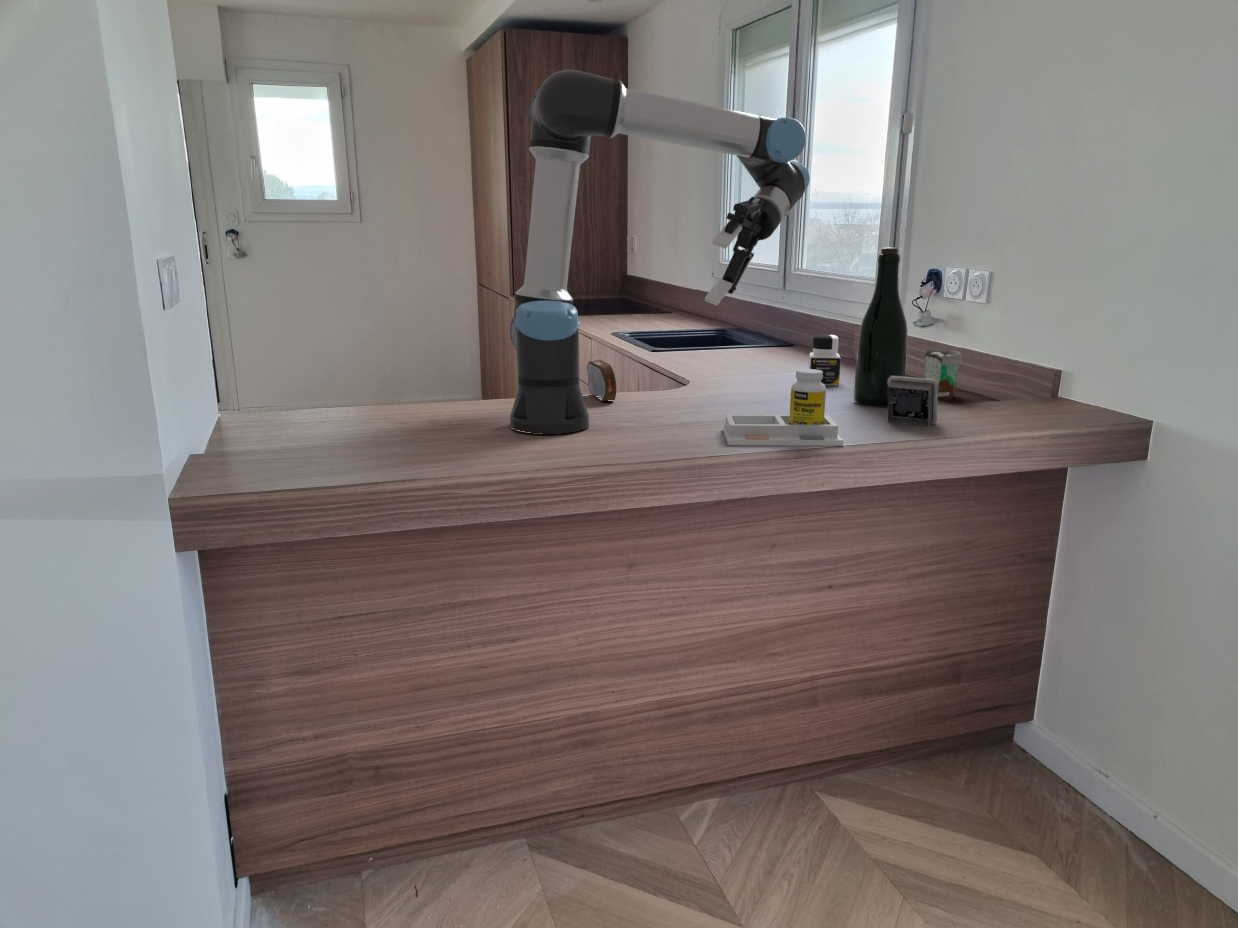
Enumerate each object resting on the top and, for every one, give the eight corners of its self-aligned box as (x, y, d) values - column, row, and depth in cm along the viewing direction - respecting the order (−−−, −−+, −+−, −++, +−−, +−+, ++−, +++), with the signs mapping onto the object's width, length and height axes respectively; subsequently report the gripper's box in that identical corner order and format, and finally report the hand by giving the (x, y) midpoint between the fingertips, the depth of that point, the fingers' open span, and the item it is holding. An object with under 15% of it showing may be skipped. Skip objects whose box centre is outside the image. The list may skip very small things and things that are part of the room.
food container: (967, 401, 189) (971, 355, 186) (939, 401, 189) (943, 356, 186) (947, 391, 200) (951, 348, 198) (921, 391, 201) (924, 348, 198)
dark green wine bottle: (878, 409, 180) (890, 248, 171) (843, 401, 189) (853, 247, 180) (913, 404, 185) (927, 247, 176) (877, 397, 193) (889, 247, 185)
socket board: (727, 445, 149) (728, 428, 149) (722, 430, 161) (723, 414, 160) (842, 445, 149) (844, 429, 148) (829, 430, 160) (830, 415, 159)
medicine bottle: (809, 385, 209) (811, 336, 206) (807, 380, 216) (810, 333, 213) (839, 386, 208) (842, 336, 205) (836, 381, 215) (839, 333, 212)
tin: (617, 404, 187) (617, 366, 184) (603, 405, 186) (603, 366, 183) (598, 393, 200) (597, 357, 198) (585, 393, 199) (584, 357, 197)
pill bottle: (788, 433, 153) (791, 372, 151) (789, 426, 159) (792, 367, 156) (823, 435, 152) (827, 373, 149) (823, 428, 158) (826, 368, 155)
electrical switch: (937, 423, 166) (940, 377, 163) (930, 431, 162) (933, 383, 159) (888, 418, 171) (891, 373, 168) (881, 425, 167) (883, 379, 164)
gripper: (792, 165, 158) (742, 226, 147) (770, 269, 178) (724, 330, 167) (756, 152, 160) (704, 211, 149) (738, 257, 180) (690, 316, 169)
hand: (714, 274), depth 158 cm, fingers open, 13 cm apart
